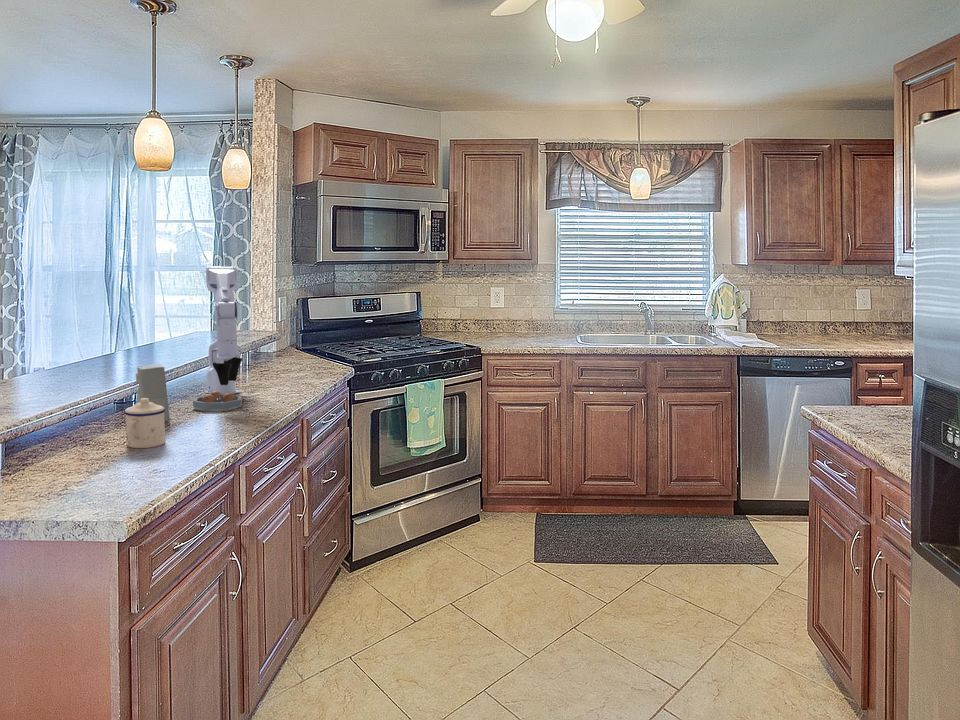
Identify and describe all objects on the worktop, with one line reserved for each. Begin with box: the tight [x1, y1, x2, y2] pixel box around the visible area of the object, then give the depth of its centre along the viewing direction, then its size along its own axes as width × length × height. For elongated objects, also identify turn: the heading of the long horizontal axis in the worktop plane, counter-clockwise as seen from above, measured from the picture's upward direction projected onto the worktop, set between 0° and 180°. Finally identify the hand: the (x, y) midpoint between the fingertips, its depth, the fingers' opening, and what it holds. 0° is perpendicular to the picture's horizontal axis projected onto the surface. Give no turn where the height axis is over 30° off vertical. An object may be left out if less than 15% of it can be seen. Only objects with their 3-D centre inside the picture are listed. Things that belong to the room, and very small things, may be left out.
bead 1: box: [209, 391, 222, 398], centre depth 218 cm, size 4×4×4 cm
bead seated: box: [202, 393, 215, 403], centre depth 212 cm, size 4×4×4 cm
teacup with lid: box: [123, 398, 166, 449], centre depth 168 cm, size 12×9×12 cm
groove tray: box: [192, 394, 243, 412], centre depth 216 cm, size 14×14×3 cm
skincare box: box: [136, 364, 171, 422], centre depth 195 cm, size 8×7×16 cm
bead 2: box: [223, 393, 235, 402], centre depth 215 cm, size 4×4×4 cm
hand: (228, 382), depth 215 cm, fingers open, 7 cm apart
